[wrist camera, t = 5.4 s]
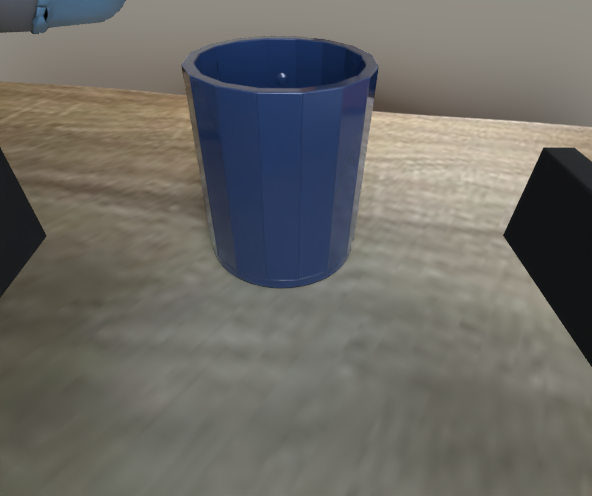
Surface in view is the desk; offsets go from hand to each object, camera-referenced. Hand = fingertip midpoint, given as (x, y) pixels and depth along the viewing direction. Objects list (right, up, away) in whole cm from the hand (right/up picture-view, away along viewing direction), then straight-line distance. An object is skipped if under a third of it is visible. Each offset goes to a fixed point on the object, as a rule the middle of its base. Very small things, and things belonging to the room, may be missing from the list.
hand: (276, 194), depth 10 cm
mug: (0, 0, +14) cm, 14 cm away
